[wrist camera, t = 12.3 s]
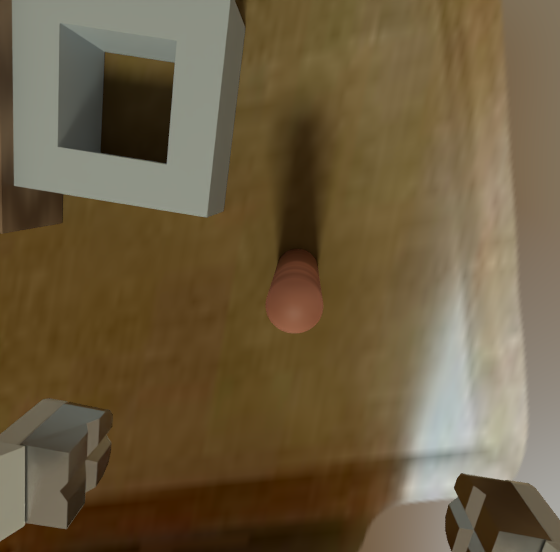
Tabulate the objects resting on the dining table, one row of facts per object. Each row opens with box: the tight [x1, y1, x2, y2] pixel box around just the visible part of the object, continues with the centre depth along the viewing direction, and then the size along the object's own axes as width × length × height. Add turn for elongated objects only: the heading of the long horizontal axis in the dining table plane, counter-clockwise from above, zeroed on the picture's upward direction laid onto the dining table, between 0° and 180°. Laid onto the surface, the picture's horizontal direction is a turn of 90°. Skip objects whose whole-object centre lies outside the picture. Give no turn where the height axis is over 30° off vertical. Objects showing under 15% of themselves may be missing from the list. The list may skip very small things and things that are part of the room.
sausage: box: [266, 249, 323, 333], centre depth 25 cm, size 3×3×9 cm
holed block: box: [12, 0, 245, 217], centre depth 25 cm, size 12×12×5 cm
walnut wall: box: [0, 0, 63, 233], centre depth 24 cm, size 18×3×6 cm, turn 171°
